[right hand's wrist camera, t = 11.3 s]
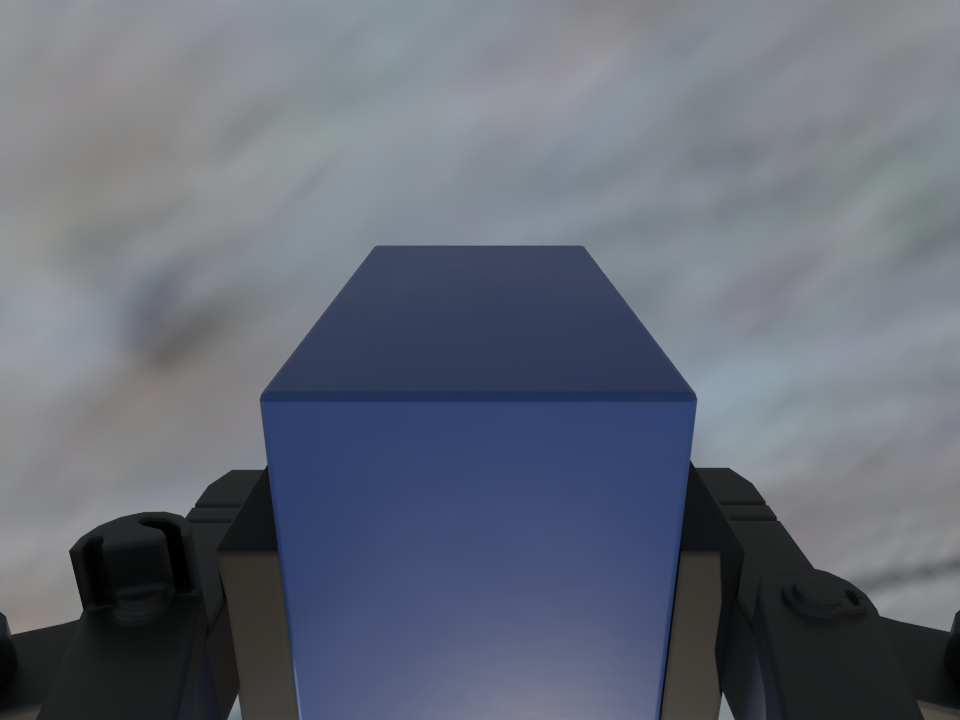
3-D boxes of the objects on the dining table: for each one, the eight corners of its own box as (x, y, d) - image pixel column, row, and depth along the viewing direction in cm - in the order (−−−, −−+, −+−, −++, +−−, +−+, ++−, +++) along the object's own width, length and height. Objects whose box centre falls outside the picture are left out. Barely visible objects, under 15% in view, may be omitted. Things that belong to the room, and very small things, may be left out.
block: (387, 509, 18) (310, 844, 10) (373, 244, 15) (255, 395, 7) (570, 509, 18) (646, 843, 10) (584, 244, 15) (701, 394, 7)
